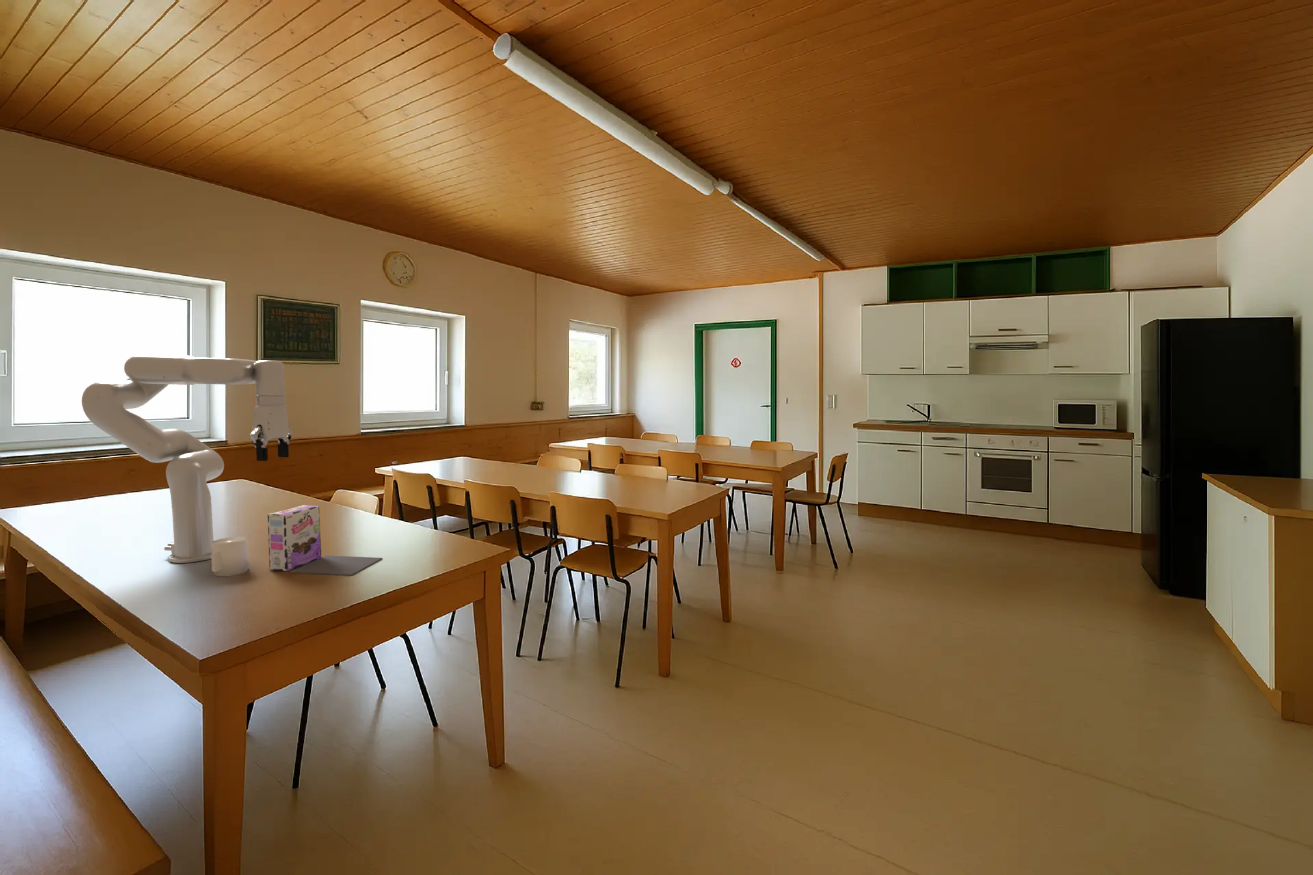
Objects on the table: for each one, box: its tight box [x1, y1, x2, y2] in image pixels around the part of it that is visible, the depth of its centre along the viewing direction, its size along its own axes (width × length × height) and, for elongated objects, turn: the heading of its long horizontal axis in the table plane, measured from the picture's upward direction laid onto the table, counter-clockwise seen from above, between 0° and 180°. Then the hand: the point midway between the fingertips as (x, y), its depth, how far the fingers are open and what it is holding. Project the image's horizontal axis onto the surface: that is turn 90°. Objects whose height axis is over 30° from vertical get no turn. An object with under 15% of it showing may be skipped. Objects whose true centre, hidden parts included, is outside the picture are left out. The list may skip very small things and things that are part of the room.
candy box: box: [267, 504, 322, 572], centre depth 179 cm, size 14×6×16 cm, turn 168°
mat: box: [290, 555, 383, 577], centre depth 179 cm, size 18×16×1 cm
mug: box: [210, 536, 249, 577], centre depth 171 cm, size 8×10×9 cm
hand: (273, 458), depth 186 cm, fingers open, 8 cm apart
